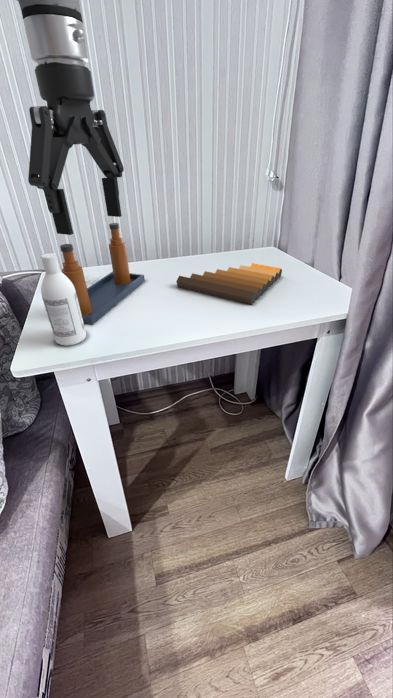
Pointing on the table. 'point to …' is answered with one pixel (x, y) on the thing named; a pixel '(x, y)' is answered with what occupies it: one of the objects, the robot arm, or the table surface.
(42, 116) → the robot arm
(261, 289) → the pan flute
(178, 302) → the table surface
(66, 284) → the bath foam
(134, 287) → the tray
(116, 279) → the amber bottle far
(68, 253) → the amber bottle near
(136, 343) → the table surface
